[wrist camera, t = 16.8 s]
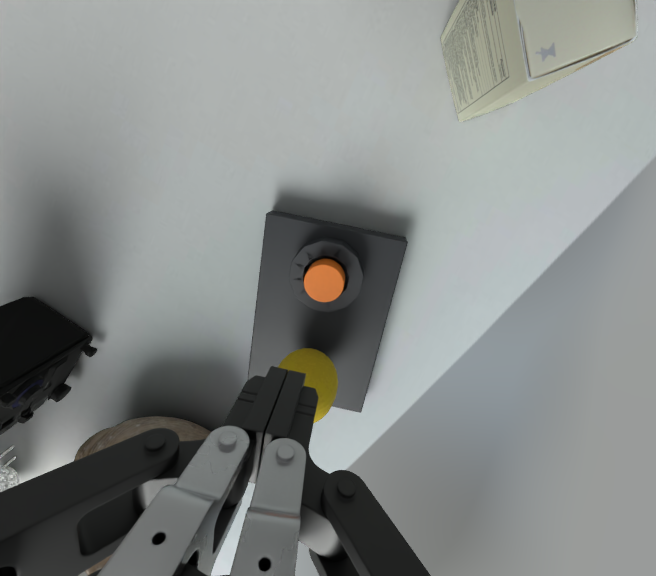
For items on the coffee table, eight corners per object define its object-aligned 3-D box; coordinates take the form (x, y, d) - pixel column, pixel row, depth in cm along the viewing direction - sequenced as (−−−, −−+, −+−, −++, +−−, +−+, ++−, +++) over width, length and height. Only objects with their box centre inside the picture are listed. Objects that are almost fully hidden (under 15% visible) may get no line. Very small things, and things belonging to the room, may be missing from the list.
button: (348, 262, 27) (347, 268, 26) (341, 298, 28) (339, 306, 27) (310, 254, 27) (306, 260, 26) (304, 290, 28) (300, 298, 27)
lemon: (352, 356, 32) (348, 414, 24) (318, 392, 33) (304, 457, 26) (306, 322, 31) (286, 372, 23) (273, 361, 33) (246, 418, 25)
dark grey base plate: (405, 237, 29) (410, 246, 26) (361, 400, 36) (360, 424, 32) (272, 210, 30) (260, 215, 26) (252, 376, 36) (241, 397, 33)
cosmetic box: (516, 102, 25) (643, 47, 13) (457, 124, 26) (528, 91, 14) (500, 3, 23) (633, -158, 12) (437, 31, 24) (501, -92, 12)
